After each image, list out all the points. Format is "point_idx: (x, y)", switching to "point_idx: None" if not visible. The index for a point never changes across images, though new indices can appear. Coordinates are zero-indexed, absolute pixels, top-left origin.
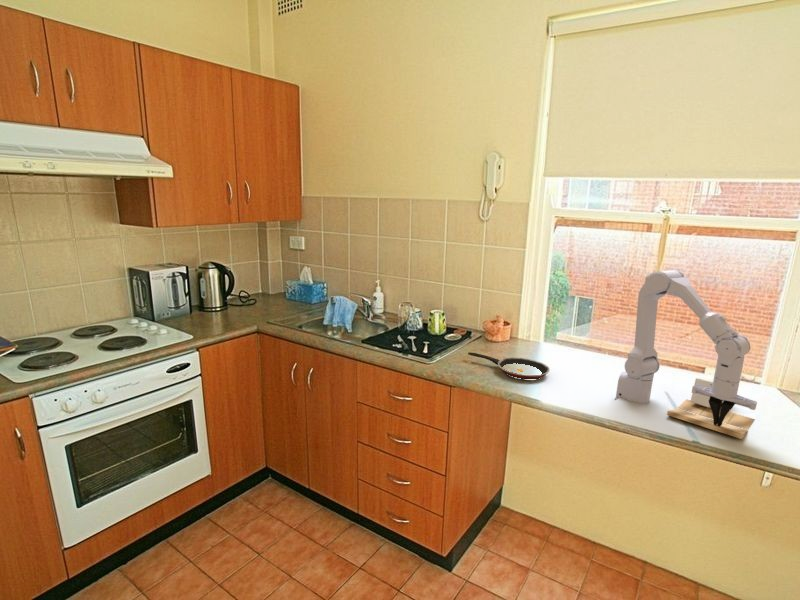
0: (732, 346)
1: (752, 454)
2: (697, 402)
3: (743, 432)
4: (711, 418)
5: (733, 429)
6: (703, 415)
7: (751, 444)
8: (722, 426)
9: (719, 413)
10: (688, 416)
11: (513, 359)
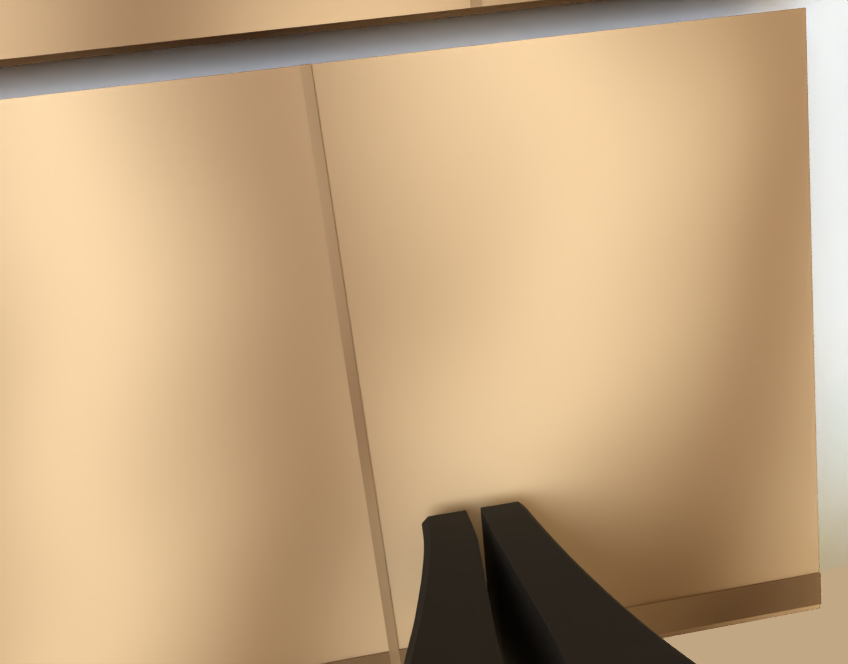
0: None
1: (839, 546)
2: None
3: (798, 380)
4: (197, 37)
5: (670, 416)
6: (26, 21)
7: (823, 310)
8: (531, 490)
9: (494, 635)
10: (38, 651)
11: None
